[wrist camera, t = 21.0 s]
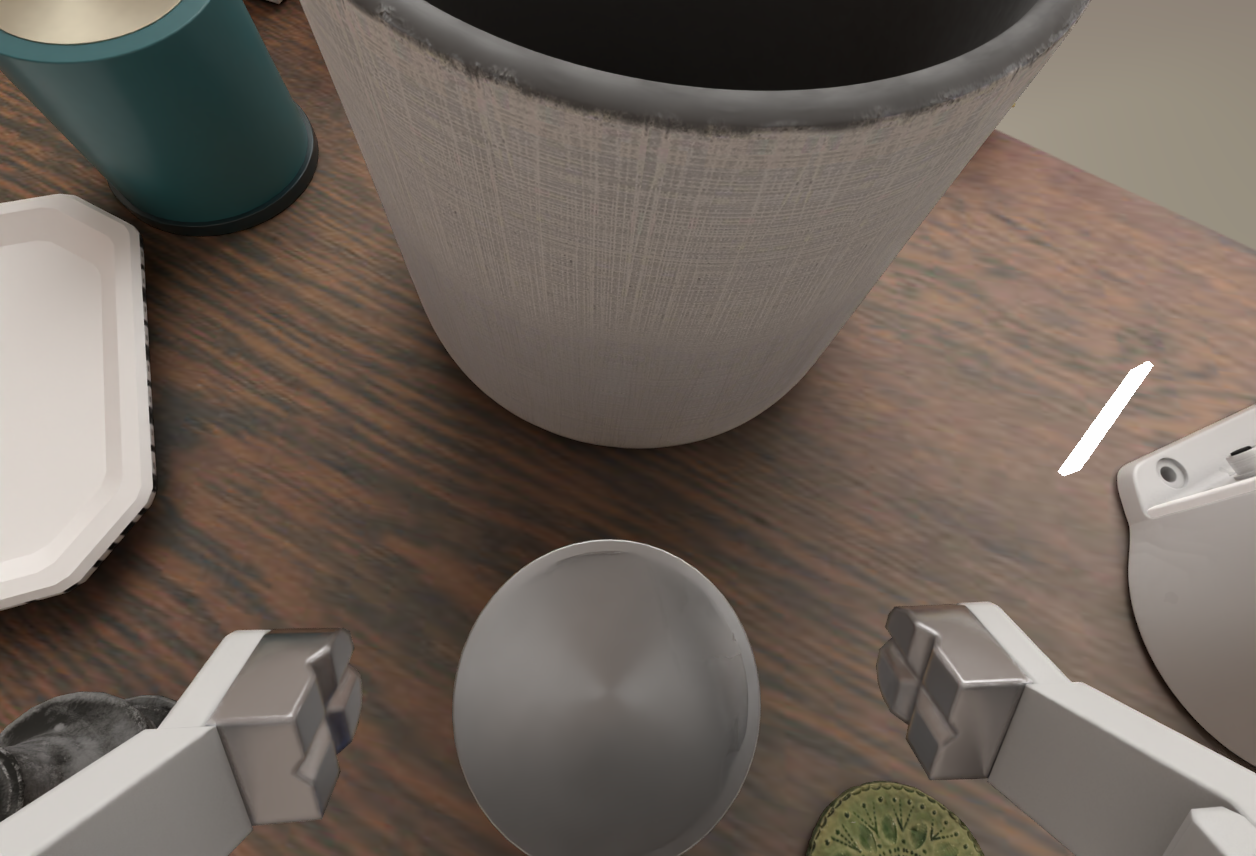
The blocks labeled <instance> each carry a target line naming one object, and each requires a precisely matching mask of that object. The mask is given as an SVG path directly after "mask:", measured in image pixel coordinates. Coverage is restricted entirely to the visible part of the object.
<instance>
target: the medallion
mask: <svg viewBox="0 0 1256 856" xmlns="http://www.w3.org/2000/svg"><path fill="white" fill-rule="evenodd" d="M851 822H855V823H851ZM806 856H984V854H983V852H982V850H981V848H980V846H979V844H978V843H977V841H976V839H975V838H974V837H973V835H972V834H971V832H970V831H969V830H968V828H967V826H966V825H965V824H964V823H963V822H962V821H961V820H960V819H959V818H958V817H957V816H956V815H955V814H954V813H953V812H951V811H950V810H948V809H947V808H946V807H945V806H944V805H942V804H941V803H939V802H938V801H936V800H935V799H933V798H932V797H930V796H929V795H927V794H925V793H923V792H922V791H920V790H918V789H917V788H915V787H911V786H907V785H903V784H900V783H895V782H888V781H887V782H886V781H874V782H869V783H865V784H862V785H860V786H854V787H852V788H850V789H848V790H847V791H845V792H843V793H842V794H841V795H840V796H839V797H838V798H837V799H835V800H834V801H833V802H832V803H830V804H829V806H828V807H827V808H826V809H825V810H824V811H823V813H822V815H821V817H820V819H819V821H818V823H817V824H816V827H815V829H814V831H813V833H812V838H811V839H810V841H809V847H808V850H807V852H806Z"/></svg>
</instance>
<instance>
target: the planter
mask: <svg viewBox="0 0 1256 856" xmlns="http://www.w3.org/2000/svg"><path fill="white" fill-rule="evenodd" d="M1090 2H1091V0H300V3H301V5H302V7H303V10H304V12H305V15H306V17H307V20H308V22H309V24H310V27H311V29H312V32H313V34H314V37H315V39H316V41H317V44H318V46H319V49H320V51H321V54H322V56H323V58H324V61H325V63H326V66H327V68H328V71H329V73H330V76H331V78H332V81H333V83H334V85H335V88H336V90H337V93H338V95H339V98H340V100H341V103H342V105H343V108H344V110H345V112H346V115H347V117H348V120H349V122H350V125H351V127H352V130H353V132H354V135H355V137H356V140H357V142H358V145H359V147H360V150H361V152H362V155H363V157H364V160H365V162H366V165H367V167H368V170H369V172H370V175H371V177H372V180H373V182H374V185H375V187H376V190H377V193H378V195H379V198H380V200H381V203H382V205H383V208H384V210H385V213H386V215H387V218H388V220H389V223H390V226H391V228H392V231H393V233H394V236H395V238H396V241H397V243H398V246H399V248H400V251H401V253H402V256H403V258H404V261H405V264H406V266H407V269H408V271H409V274H410V276H411V279H412V281H413V283H414V286H415V288H416V291H417V293H418V296H419V298H420V301H421V303H422V305H423V308H424V310H425V312H426V314H427V317H428V319H429V321H430V323H431V325H432V327H433V329H434V331H435V332H436V334H437V336H438V337H439V339H440V341H441V342H442V344H443V345H444V347H445V348H446V350H447V351H448V353H449V354H450V356H451V357H452V358H453V360H454V361H455V362H456V364H457V365H458V366H459V367H460V369H461V370H462V371H463V372H464V373H465V374H466V376H467V377H468V378H469V379H470V380H471V381H472V382H473V383H474V384H475V385H476V386H477V387H478V388H480V389H481V390H482V391H483V392H484V393H485V394H486V395H488V396H489V397H490V398H491V399H493V400H494V401H495V402H496V403H498V404H499V405H501V406H502V407H503V408H505V409H506V410H508V411H509V412H511V413H513V414H514V415H516V416H518V417H519V418H521V419H523V420H525V421H527V422H529V423H531V424H533V425H535V426H537V427H540V428H542V429H544V430H547V431H549V432H552V433H554V434H557V435H560V436H563V437H566V438H569V439H573V440H576V441H580V442H584V443H589V444H594V445H600V446H608V447H617V448H631V449H649V448H662V447H671V446H677V445H683V444H688V443H693V442H697V441H701V440H704V439H708V438H711V437H714V436H717V435H719V434H722V433H725V432H727V431H729V430H731V429H734V428H736V427H738V426H740V425H742V424H744V423H745V422H747V421H749V420H751V419H752V418H754V417H756V416H757V415H759V414H760V413H762V412H763V411H765V410H766V409H768V408H769V407H770V406H772V405H773V404H774V403H776V402H777V401H778V400H779V399H780V398H782V397H783V396H784V395H785V394H786V393H787V392H788V391H789V390H790V389H792V388H793V387H794V386H795V385H796V384H797V383H798V382H799V381H800V380H801V379H802V377H803V376H804V375H805V374H806V373H807V372H808V371H809V369H810V368H811V367H812V366H813V365H814V363H815V362H816V361H817V360H818V358H819V357H820V356H821V354H822V353H823V352H824V351H825V349H826V348H827V347H828V345H829V344H830V343H831V341H832V340H833V339H834V338H835V336H836V335H837V334H838V332H839V331H840V330H841V328H842V327H843V326H844V324H845V323H846V322H847V320H848V319H849V318H850V317H851V315H852V314H853V313H854V311H855V310H856V309H857V307H858V306H859V305H860V303H861V302H862V301H863V299H864V298H865V297H866V295H867V294H868V293H869V291H870V290H871V289H872V287H873V286H874V285H875V283H876V282H877V281H878V279H879V278H880V277H881V276H882V274H883V273H884V272H885V270H886V269H887V268H888V266H889V265H890V264H891V262H892V261H893V260H894V258H895V257H896V256H897V254H898V253H899V252H900V250H901V249H902V248H903V247H904V245H905V244H906V243H907V241H908V240H909V239H910V237H911V236H912V235H913V233H914V232H915V231H916V230H917V228H918V227H919V226H920V224H921V223H922V222H923V220H924V219H925V218H926V217H927V215H928V214H929V213H930V211H931V210H932V209H933V207H934V206H935V205H936V204H937V202H938V201H939V200H940V198H941V197H942V196H943V194H944V193H945V192H946V191H947V189H948V188H949V187H950V185H951V184H952V183H953V182H954V180H955V179H956V178H957V176H958V175H959V174H960V173H961V171H962V170H963V169H964V167H965V166H966V165H967V164H968V162H969V161H970V160H971V158H972V157H973V156H974V155H975V153H976V152H977V151H978V149H979V148H980V147H981V146H982V144H983V143H984V142H985V140H986V139H987V138H988V137H989V135H990V134H991V133H992V131H993V130H994V129H995V128H996V126H997V125H998V124H999V122H1000V121H1001V120H1002V119H1003V117H1004V116H1005V115H1006V113H1007V112H1008V111H1009V110H1010V109H1011V107H1012V106H1013V105H1014V103H1015V102H1016V101H1017V99H1018V98H1019V97H1020V95H1021V94H1022V93H1023V92H1024V91H1025V89H1026V88H1027V87H1028V86H1029V84H1030V83H1031V82H1032V80H1033V79H1034V78H1035V77H1036V75H1037V74H1038V73H1039V71H1040V70H1041V69H1042V68H1043V66H1044V65H1045V64H1046V62H1047V61H1048V60H1049V59H1050V57H1051V56H1052V55H1053V53H1054V52H1055V51H1056V50H1057V48H1058V47H1059V46H1060V44H1061V43H1062V41H1064V39H1065V38H1066V37H1067V35H1068V34H1069V32H1070V31H1071V30H1072V28H1073V27H1074V26H1075V24H1076V23H1077V22H1078V20H1079V19H1080V17H1081V16H1082V14H1083V13H1084V11H1085V10H1086V8H1087V7H1088V5H1089V3H1090Z"/></svg>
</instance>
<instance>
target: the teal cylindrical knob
mask: <svg viewBox="0 0 1256 856" xmlns="http://www.w3.org/2000/svg"><path fill="white" fill-rule="evenodd" d="M0 70H1V71H2V73H3V74H4V75H5V76H6V77H7V78H8V79H9V80H10V81H11V82H12V83H13V84H14V85H15V86H16V87H17V88H18V89H19V90H20V91H21V92H22V93H23V94H24V95H25V96H26V97H27V98H28V99H29V100H30V101H31V102H32V103H33V104H34V105H35V106H36V107H37V108H38V109H39V110H40V111H41V113H42V114H43V115H44V116H45V117H46V118H47V119H48V120H49V121H50V122H51V123H52V124H53V125H54V126H55V127H56V128H57V129H58V130H59V131H60V132H61V133H62V134H63V135H64V136H65V137H66V138H67V139H68V140H69V141H70V142H71V143H72V144H73V145H74V146H75V147H76V148H77V149H78V150H79V151H80V153H81V154H82V155H83V156H84V157H85V158H86V159H87V160H88V161H89V162H90V163H91V164H92V165H93V166H94V167H95V168H96V169H97V170H98V171H99V172H100V173H101V174H102V175H103V176H104V177H105V178H106V179H107V181H108V184H109V187H110V188H111V190H112V192H113V193H114V195H115V196H116V197H117V198H118V200H119V201H120V202H121V203H122V204H123V205H124V206H125V207H126V208H127V209H128V210H129V211H130V212H131V213H132V214H134V215H135V216H136V217H137V218H139V219H140V220H142V221H143V222H145V223H147V224H149V225H151V226H153V227H156V228H158V229H160V230H163V231H167V232H171V233H175V234H181V235H188V236H214V235H221V234H228V233H233V232H237V231H241V230H244V229H247V228H250V227H253V226H256V225H258V224H260V223H262V222H264V221H266V220H269V219H270V218H272V217H274V216H275V215H277V214H279V213H280V212H282V211H283V210H284V209H285V208H287V207H288V206H289V205H291V204H292V203H293V202H294V201H295V200H296V199H297V198H298V197H299V196H300V195H301V193H302V192H303V191H304V190H305V188H306V187H307V185H308V184H309V182H310V180H311V179H312V176H313V174H314V172H315V169H316V165H317V161H318V142H317V138H316V135H315V132H314V130H313V128H312V126H311V124H310V122H309V120H308V118H307V116H306V114H305V113H304V112H303V110H302V109H301V108H300V106H299V105H298V104H296V103H295V102H294V101H293V100H292V98H291V96H290V94H289V92H288V90H287V88H286V86H285V84H284V82H283V80H282V78H281V76H280V74H279V72H278V70H277V68H276V66H275V64H274V62H273V60H272V58H271V56H270V54H269V52H268V50H267V48H266V46H265V44H264V42H263V40H262V38H261V36H260V34H259V32H258V30H257V28H256V26H255V24H254V22H253V20H252V18H251V16H250V14H249V12H248V10H247V8H246V7H245V5H244V3H243V1H242V0H0Z"/></svg>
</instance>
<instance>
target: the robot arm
mask: <svg viewBox="0 0 1256 856" xmlns="http://www.w3.org/2000/svg"><path fill="white" fill-rule="evenodd" d="M1152 367H1153V364H1151V363H1150V362H1149V361H1147V362H1146V363H1144V364H1142V365H1140V366H1138V367H1136V368H1134V369H1132V370H1131V371H1130V372H1129V373H1128V375H1127V376H1126V378H1125V379H1124V380H1123V382H1122V383H1121V385H1120V386H1119V387H1118V389H1117V390H1116V392H1115V393H1114V394H1113V396H1112V397H1111V399H1110V400H1109V401H1108V403H1107V404H1106V406H1105V407H1104V408H1103V410H1102V411H1101V412H1100V414H1099V415H1098V417H1097V418H1096V419H1095V421H1094V422H1093V424H1092V425H1091V426H1090V428H1089V429H1088V431H1087V432H1086V433H1085V435H1084V436H1083V438H1082V439H1081V440H1080V442H1079V443H1078V445H1077V446H1076V447H1075V449H1074V450H1073V452H1072V453H1071V454H1070V456H1069V457H1068V458H1067V460H1066V461H1065V463H1064V464H1063V465H1062V467H1061V468H1060V470H1059V471H1058V472H1059V473H1060V474H1062V475H1063V476H1065V475H1068V474H1070V473H1073V472H1076V471H1078V470H1080V469H1081V468H1082V466H1083V465H1084V464H1085V462H1086V461H1087V459H1088V458H1089V456H1090V455H1091V454H1092V452H1093V451H1094V449H1095V448H1096V447H1097V445H1098V444H1099V442H1100V441H1101V439H1102V438H1103V437H1104V435H1105V434H1106V432H1107V431H1108V429H1109V428H1110V427H1111V425H1112V424H1113V422H1114V421H1115V419H1116V418H1117V417H1118V415H1119V414H1120V412H1121V411H1122V409H1123V408H1124V407H1125V405H1126V404H1127V402H1128V401H1129V399H1130V398H1131V397H1132V395H1133V394H1134V392H1135V391H1136V389H1137V388H1138V387H1139V385H1140V384H1141V382H1142V381H1143V380H1144V378H1145V377H1146V375H1147V374H1148V372H1149V371H1150V370H1151V368H1152ZM1161 475H1162V476H1161ZM1117 486H1118V491H1119V495H1120V499H1121V502H1122V505H1123V508H1124V512H1125V515H1126V517H1127V520H1128V523H1129V528H1130V548H1129V562H1128V580H1129V590H1130V597H1131V602H1132V607H1133V611H1134V615H1135V619H1136V622H1137V625H1138V628H1139V631H1140V634H1141V636H1142V638H1143V641H1144V643H1145V646H1146V648H1147V650H1148V652H1149V654H1150V656H1151V658H1152V660H1153V662H1154V664H1155V666H1156V667H1157V669H1158V671H1159V672H1160V674H1161V676H1162V677H1163V679H1164V681H1165V682H1166V683H1167V685H1168V686H1169V688H1170V689H1171V691H1172V692H1173V693H1174V695H1175V696H1176V697H1177V699H1178V700H1179V701H1180V703H1181V704H1182V705H1183V706H1184V707H1185V709H1186V710H1187V711H1188V712H1189V713H1190V714H1191V715H1192V717H1193V718H1194V719H1195V720H1196V721H1197V722H1198V723H1199V724H1200V725H1201V726H1202V727H1203V728H1204V729H1205V730H1206V731H1207V732H1208V733H1210V734H1211V735H1212V736H1213V737H1214V738H1215V739H1216V740H1217V741H1219V742H1220V743H1221V744H1222V745H1224V746H1225V747H1226V748H1227V749H1229V750H1230V751H1232V752H1233V753H1234V754H1236V755H1237V756H1239V757H1240V758H1242V759H1243V760H1245V761H1247V762H1248V763H1250V764H1252V765H1253V766H1255V767H1256V404H1254V405H1252V406H1250V407H1247V408H1245V409H1243V410H1241V411H1239V412H1237V413H1235V414H1233V415H1230V416H1228V417H1226V418H1224V419H1222V420H1220V421H1218V422H1215V423H1213V424H1211V425H1209V426H1207V427H1205V428H1203V429H1200V430H1198V431H1196V432H1194V433H1192V434H1190V435H1188V436H1185V437H1183V438H1181V439H1179V440H1177V441H1175V442H1173V443H1170V444H1168V445H1166V446H1164V447H1162V448H1160V449H1158V450H1156V451H1153V452H1151V453H1149V454H1147V455H1145V456H1143V457H1141V458H1138V459H1136V460H1134V461H1132V462H1130V463H1128V464H1126V465H1124V466H1123V467H1122V468H1121V469H1120V470H1119V472H1118V475H1117ZM885 627H886V629H887V630H888V632H889V634H890V635H891V637H892V638H891V639H890V640H888V641H887V642H886V643H885V644H884V645H883V646H882V647H881V648H880V649H879V654H878V659H877V663H876V670H877V679H878V685H879V688H880V691H881V694H882V697H883V699H884V701H885V703H886V705H887V706H888V708H889V710H890V712H891V713H892V714H894V715H895V716H896V717H898V718H899V719H901V720H902V721H903V722H905V723H906V724H908V729H907V735H906V740H907V742H908V743H909V745H910V747H911V749H912V750H913V752H914V754H915V755H916V757H917V759H918V761H919V762H920V764H921V766H922V767H923V769H924V771H925V773H926V774H927V776H928V778H929V779H930V780H953V779H983V778H988V781H987V782H988V783H990V784H991V785H992V786H993V787H994V788H996V789H997V790H998V791H999V792H1000V793H1002V794H1003V795H1004V796H1005V797H1006V798H1008V799H1009V800H1010V801H1011V802H1012V803H1014V804H1015V805H1016V806H1017V807H1018V808H1020V809H1021V810H1022V811H1023V812H1024V813H1026V814H1027V815H1028V816H1029V817H1030V818H1031V819H1033V820H1034V821H1035V822H1036V823H1037V824H1039V825H1040V826H1041V827H1042V828H1043V829H1045V830H1046V831H1047V832H1048V833H1049V834H1051V835H1052V836H1053V837H1054V838H1055V839H1057V840H1058V841H1059V842H1060V843H1061V844H1063V845H1064V846H1065V847H1066V848H1067V849H1068V850H1070V851H1071V852H1072V853H1073V854H1074V855H1076V856H1256V773H1254V772H1252V771H1251V770H1249V769H1247V768H1245V767H1243V766H1241V765H1239V764H1237V763H1235V762H1233V761H1232V760H1230V759H1228V758H1226V757H1224V756H1222V755H1220V754H1218V753H1216V752H1214V751H1212V750H1211V749H1209V748H1207V747H1205V746H1203V745H1201V744H1199V743H1197V742H1195V741H1193V740H1192V739H1190V738H1188V737H1186V736H1184V735H1182V734H1180V733H1178V732H1176V731H1174V730H1173V729H1171V728H1169V727H1167V726H1165V725H1163V724H1161V723H1159V722H1157V721H1155V720H1153V719H1152V718H1150V717H1148V716H1146V715H1144V714H1142V713H1140V712H1138V711H1136V710H1134V709H1133V708H1131V707H1129V706H1127V705H1125V704H1123V703H1121V702H1119V701H1117V700H1115V699H1113V698H1112V697H1110V696H1108V695H1106V694H1104V693H1102V692H1100V691H1098V690H1096V689H1094V688H1093V687H1091V686H1089V685H1087V684H1085V683H1083V682H1071V681H1070V680H1069V679H1068V678H1067V677H1066V676H1065V675H1064V674H1063V673H1062V672H1061V671H1060V670H1059V669H1058V668H1057V666H1056V665H1055V664H1054V663H1053V662H1052V661H1051V660H1050V659H1049V658H1048V657H1047V656H1046V655H1045V654H1044V653H1043V652H1042V651H1041V650H1040V649H1039V648H1038V647H1037V646H1036V645H1035V644H1034V642H1033V641H1032V640H1031V639H1030V638H1029V637H1028V636H1027V635H1026V634H1025V633H1024V632H1023V631H1022V630H1021V629H1020V628H1019V627H1018V626H1017V625H1016V624H1015V623H1014V622H1013V621H1012V620H1011V618H1010V617H1009V616H1008V615H1007V614H1006V613H1005V612H1004V611H1003V610H1002V609H1001V608H1000V607H999V606H997V605H995V604H993V603H991V602H971V603H957V604H941V605H920V606H898V607H894V608H893V609H892V611H891V612H890V613H889V615H888V618H887V622H886V626H885ZM353 651H354V645H353V641H352V637H351V633H350V631H349V630H347V629H345V628H305V629H272V630H236V631H234V632H232V633H231V634H229V635H227V636H226V637H225V638H224V639H223V640H222V642H221V643H220V644H219V646H218V647H217V648H216V650H215V651H214V652H213V654H212V655H211V656H210V658H209V659H208V660H207V662H206V663H205V665H204V666H203V667H202V669H201V670H200V671H199V673H198V674H197V675H196V677H195V678H194V679H193V681H192V682H191V683H190V685H189V686H188V688H187V689H186V690H185V692H184V693H183V694H182V696H181V697H180V698H179V700H178V701H177V702H176V704H175V705H174V706H173V708H172V709H171V711H170V712H169V713H168V715H167V716H166V717H165V719H164V720H163V721H162V723H161V724H160V725H159V727H158V728H157V729H145V730H143V731H141V732H140V733H138V734H137V735H135V736H134V737H132V738H130V739H129V740H127V741H126V742H124V743H123V744H121V745H120V746H118V747H117V748H115V749H113V750H112V751H110V752H109V753H107V754H106V755H104V756H103V757H101V758H99V759H98V760H96V761H95V762H93V763H92V764H90V765H89V766H87V767H85V768H84V769H82V770H81V771H79V772H78V773H76V774H75V775H73V776H71V777H70V778H68V779H67V780H65V781H64V782H62V783H61V784H59V785H58V786H56V787H54V788H53V789H51V790H50V791H48V792H47V793H45V794H44V795H42V796H40V797H39V798H37V799H36V800H34V801H33V802H31V803H30V804H28V805H26V806H25V807H23V808H22V809H20V810H19V811H17V812H16V813H14V814H13V815H11V816H9V817H8V818H6V819H5V820H3V821H2V822H0V856H228V855H229V854H230V853H231V852H232V851H233V850H234V849H235V848H236V847H237V846H238V845H239V844H240V843H241V842H242V841H243V840H244V839H245V838H246V837H247V836H248V835H249V833H250V832H251V831H252V830H253V827H252V826H256V825H266V824H277V823H288V822H299V821H309V820H320V819H322V818H323V815H324V813H325V810H326V807H327V805H328V802H329V800H330V797H331V795H332V792H333V789H334V787H335V784H336V782H337V779H338V777H339V774H340V767H339V763H338V759H337V754H338V753H340V752H341V751H342V750H343V749H344V748H345V747H346V746H347V745H349V744H350V743H351V742H352V740H353V737H354V734H355V732H356V729H357V726H358V723H359V718H360V712H361V706H362V682H361V677H360V672H359V671H358V670H356V669H355V668H354V667H353V666H352V665H350V664H349V663H348V662H349V660H350V658H351V656H352V653H353Z"/></svg>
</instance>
